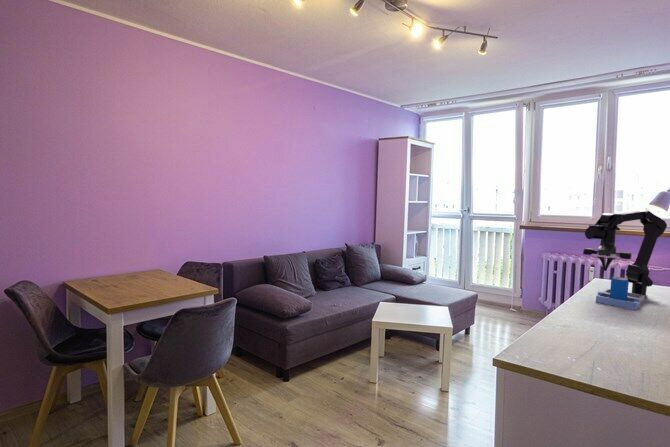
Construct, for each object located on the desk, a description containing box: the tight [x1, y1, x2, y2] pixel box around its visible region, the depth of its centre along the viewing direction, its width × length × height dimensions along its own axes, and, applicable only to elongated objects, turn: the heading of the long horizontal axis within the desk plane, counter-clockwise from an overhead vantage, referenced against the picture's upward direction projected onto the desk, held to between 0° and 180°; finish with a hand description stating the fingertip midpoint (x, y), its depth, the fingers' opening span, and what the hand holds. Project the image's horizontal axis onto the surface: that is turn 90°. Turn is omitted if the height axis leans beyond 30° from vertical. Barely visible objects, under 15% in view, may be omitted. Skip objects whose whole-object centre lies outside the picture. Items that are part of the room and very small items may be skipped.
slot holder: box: [595, 288, 646, 311], centre depth 181 cm, size 21×15×4 cm
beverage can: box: [609, 276, 630, 301], centre depth 177 cm, size 6×6×12 cm
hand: (605, 270), depth 188 cm, fingers closed
